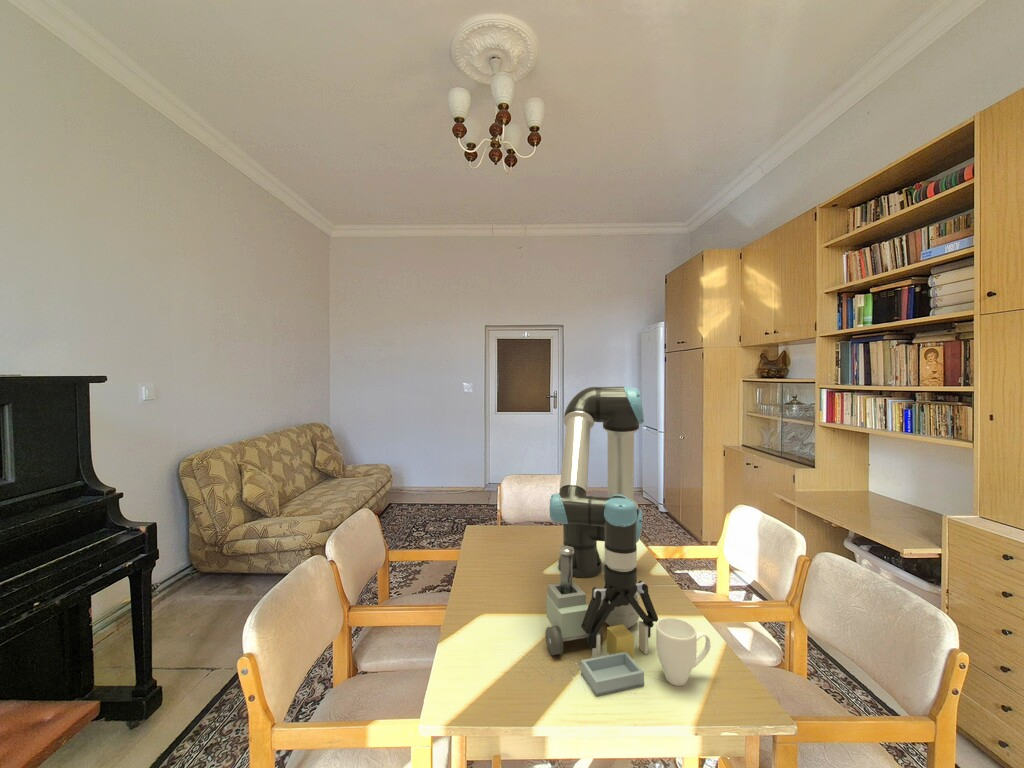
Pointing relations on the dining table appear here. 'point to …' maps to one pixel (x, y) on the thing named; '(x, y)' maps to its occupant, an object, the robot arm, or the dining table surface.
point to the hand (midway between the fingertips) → (620, 655)
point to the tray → (612, 673)
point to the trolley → (565, 617)
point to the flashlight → (566, 569)
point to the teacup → (623, 614)
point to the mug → (678, 649)
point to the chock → (620, 640)
